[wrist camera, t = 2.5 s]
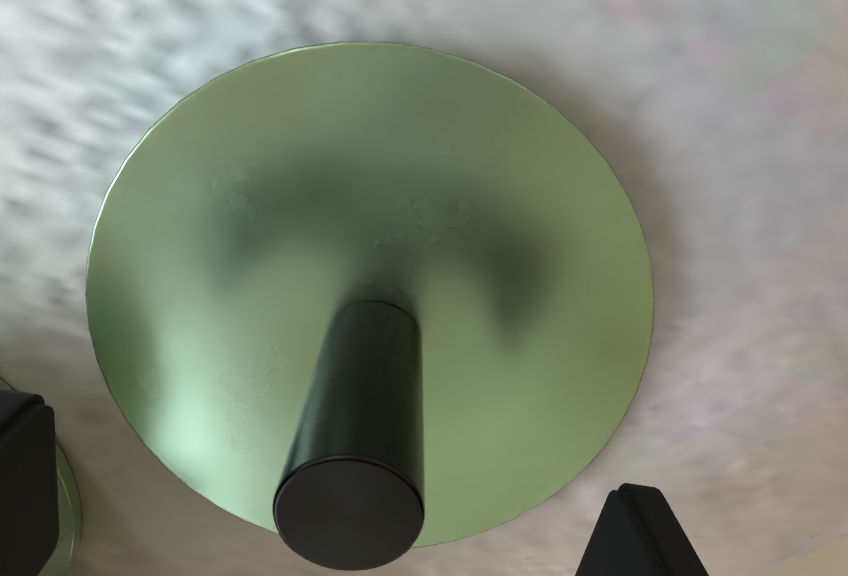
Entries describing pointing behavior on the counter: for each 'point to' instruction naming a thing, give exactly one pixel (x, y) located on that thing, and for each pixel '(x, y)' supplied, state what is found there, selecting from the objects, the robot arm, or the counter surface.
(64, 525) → the pot
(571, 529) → the counter surface
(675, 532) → the robot arm
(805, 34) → the counter surface
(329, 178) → the lid
